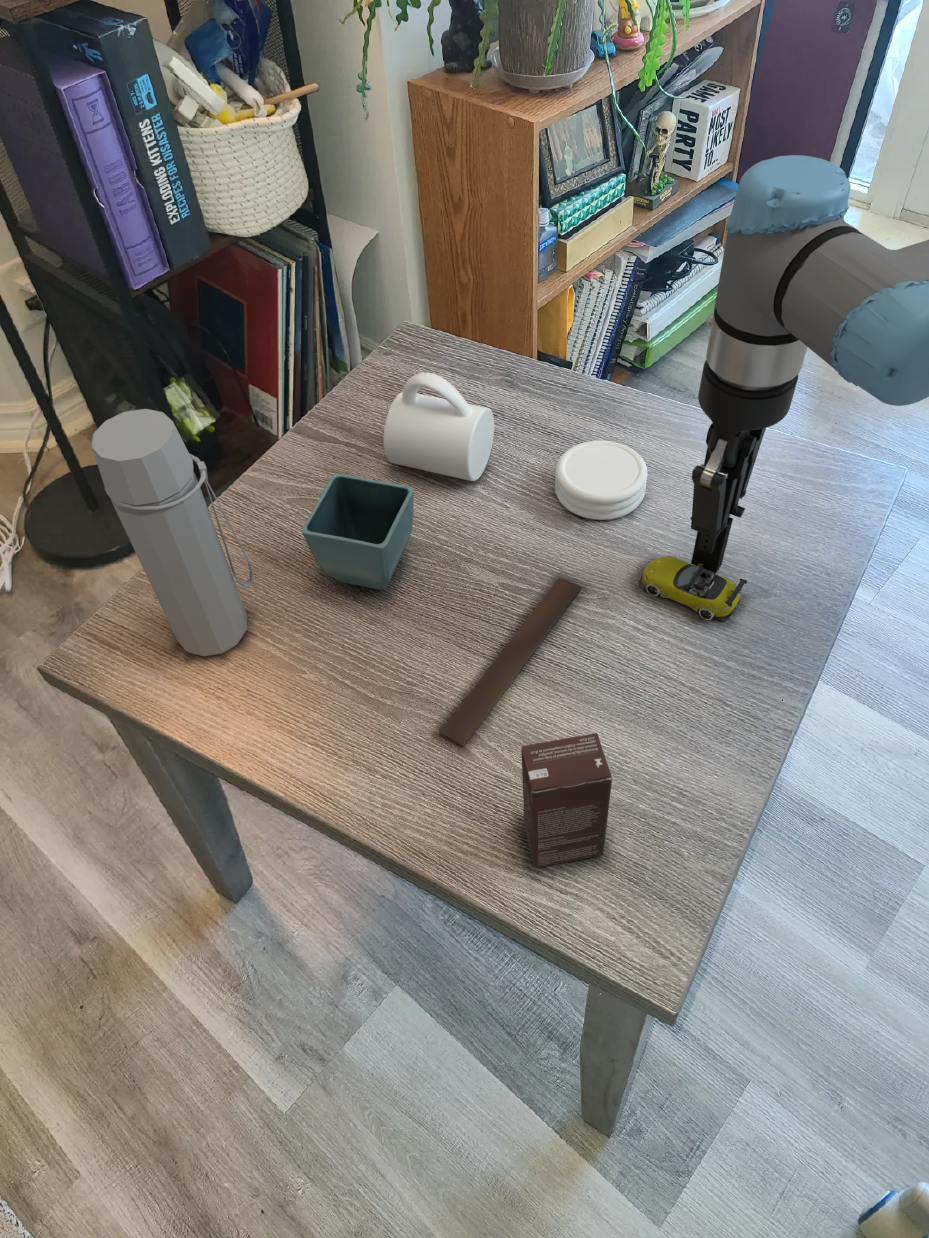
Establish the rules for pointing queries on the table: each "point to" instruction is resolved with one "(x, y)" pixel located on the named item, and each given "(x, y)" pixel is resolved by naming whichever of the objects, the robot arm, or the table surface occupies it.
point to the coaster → (600, 479)
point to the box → (565, 799)
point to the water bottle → (172, 528)
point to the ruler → (509, 663)
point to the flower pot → (360, 529)
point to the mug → (438, 430)
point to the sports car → (692, 587)
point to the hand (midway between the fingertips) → (706, 564)
